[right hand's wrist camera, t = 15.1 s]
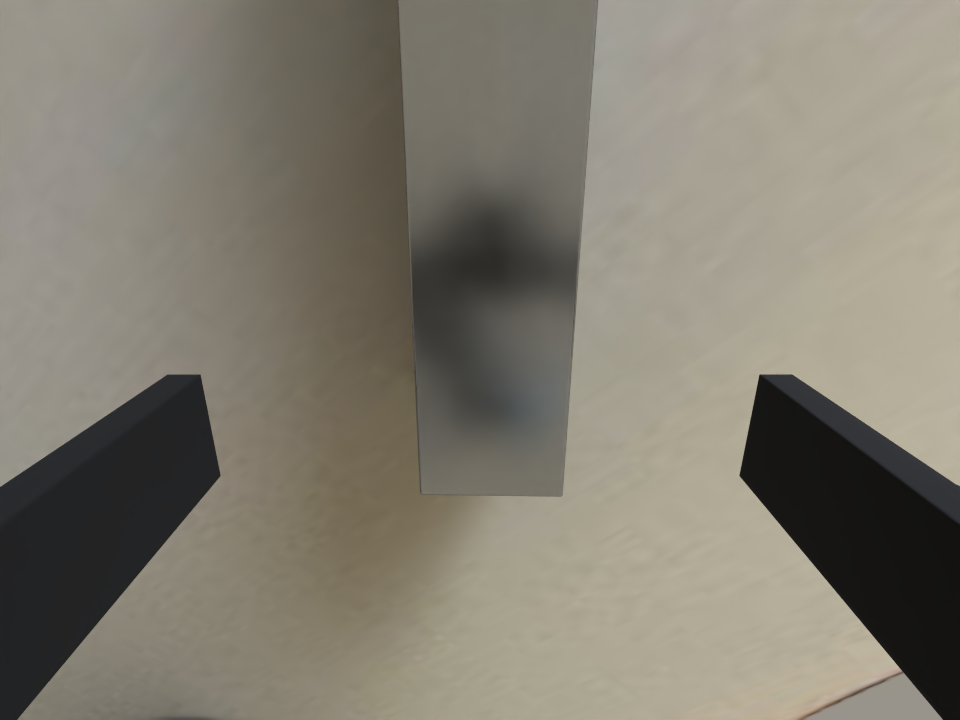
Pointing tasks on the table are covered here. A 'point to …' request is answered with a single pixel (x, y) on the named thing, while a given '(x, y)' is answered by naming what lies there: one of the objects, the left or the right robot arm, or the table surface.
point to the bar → (494, 233)
